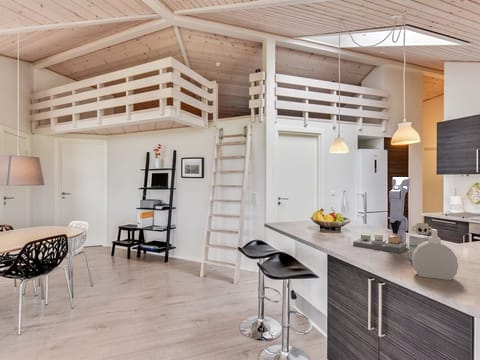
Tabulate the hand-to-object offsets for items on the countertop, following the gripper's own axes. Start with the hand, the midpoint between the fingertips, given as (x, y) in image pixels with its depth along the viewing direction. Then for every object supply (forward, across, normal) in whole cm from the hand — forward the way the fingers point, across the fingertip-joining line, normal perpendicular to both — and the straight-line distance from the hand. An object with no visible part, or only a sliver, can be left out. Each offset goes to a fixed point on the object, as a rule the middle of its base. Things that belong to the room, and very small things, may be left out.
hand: (395, 233), depth 175 cm
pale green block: (+7, -3, -18) cm, 20 cm away
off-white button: (+5, +1, -9) cm, 10 cm away
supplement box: (+10, +17, +16) cm, 25 cm away
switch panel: (+9, 0, -9) cm, 13 cm away
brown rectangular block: (+5, 0, 0) cm, 5 cm away
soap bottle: (+10, +42, +26) cm, 50 cm away
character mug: (+10, -29, +8) cm, 32 cm away
